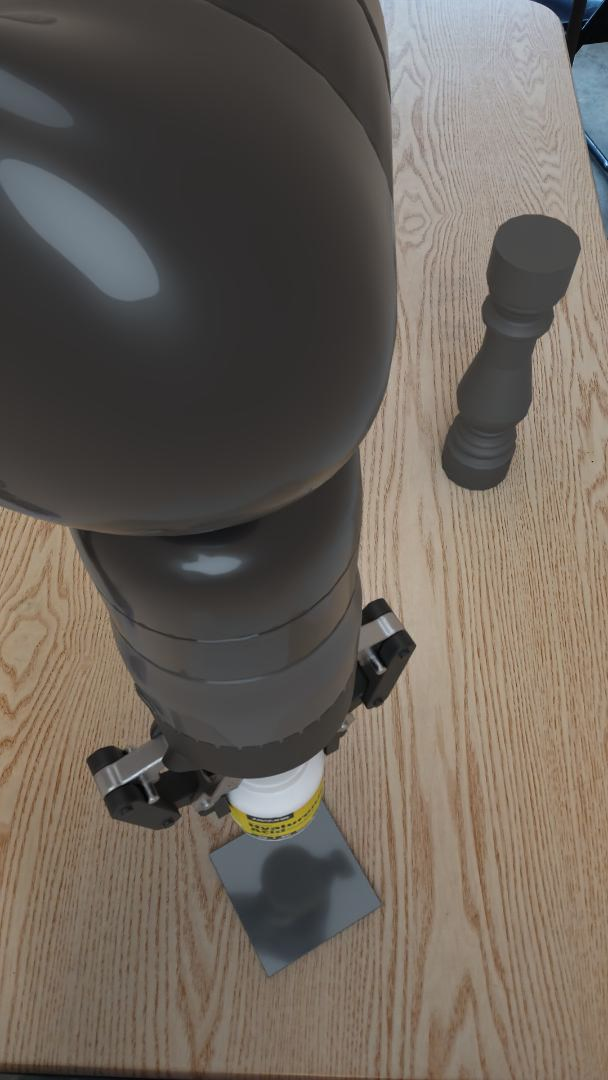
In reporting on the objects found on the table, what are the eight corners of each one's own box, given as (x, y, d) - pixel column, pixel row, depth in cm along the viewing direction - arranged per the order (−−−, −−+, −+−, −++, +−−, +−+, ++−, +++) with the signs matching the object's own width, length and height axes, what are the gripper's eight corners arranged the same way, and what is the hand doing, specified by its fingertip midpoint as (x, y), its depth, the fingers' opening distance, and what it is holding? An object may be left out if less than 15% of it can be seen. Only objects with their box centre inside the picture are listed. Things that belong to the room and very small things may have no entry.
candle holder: (497, 431, 78) (567, 206, 56) (517, 485, 75) (598, 269, 53) (433, 440, 78) (479, 217, 56) (450, 495, 75) (505, 281, 53)
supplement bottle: (247, 861, 44) (231, 823, 36) (210, 768, 47) (187, 712, 38) (339, 817, 45) (345, 770, 37) (298, 728, 48) (295, 666, 39)
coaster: (268, 978, 56) (268, 977, 55) (208, 855, 60) (208, 854, 59) (382, 905, 58) (382, 905, 57) (317, 791, 62) (317, 790, 61)
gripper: (370, 453, 30) (352, 638, 45) (-11, 639, 27) (106, 773, 41) (494, 617, 27) (431, 759, 41) (78, 853, 23) (170, 916, 38)
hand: (269, 766), depth 41 cm, fingers closed on supplement bottle, 5 cm apart
